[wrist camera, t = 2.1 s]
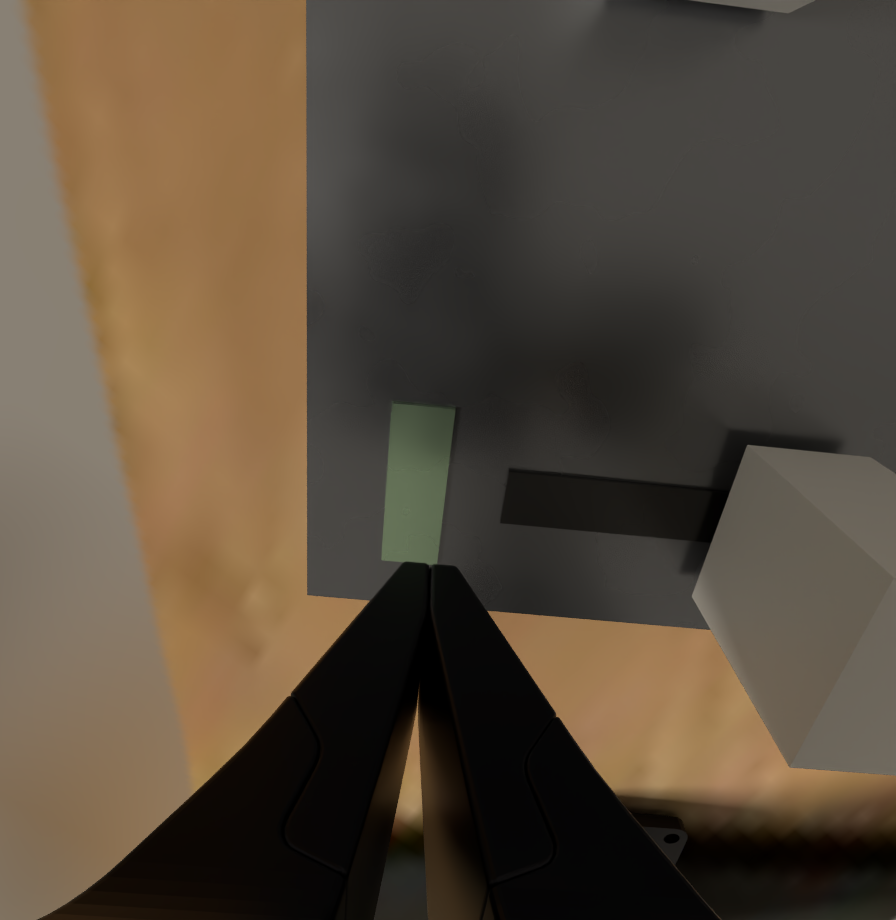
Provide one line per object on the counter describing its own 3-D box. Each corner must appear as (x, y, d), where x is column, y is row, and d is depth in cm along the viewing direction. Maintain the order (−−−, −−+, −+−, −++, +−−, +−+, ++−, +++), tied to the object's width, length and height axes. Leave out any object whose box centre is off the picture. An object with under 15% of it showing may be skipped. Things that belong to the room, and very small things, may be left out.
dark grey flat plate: (1051, 620, 15) (1114, 667, 14) (320, 555, 14) (306, 597, 13) (1696, -263, 8) (1963, -356, 7) (332, -486, 7) (303, -650, 6)
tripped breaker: (799, 606, 13) (940, 778, 9) (691, 596, 12) (789, 767, 9) (870, 457, 11) (1076, 594, 7) (747, 445, 11) (893, 577, 7)
